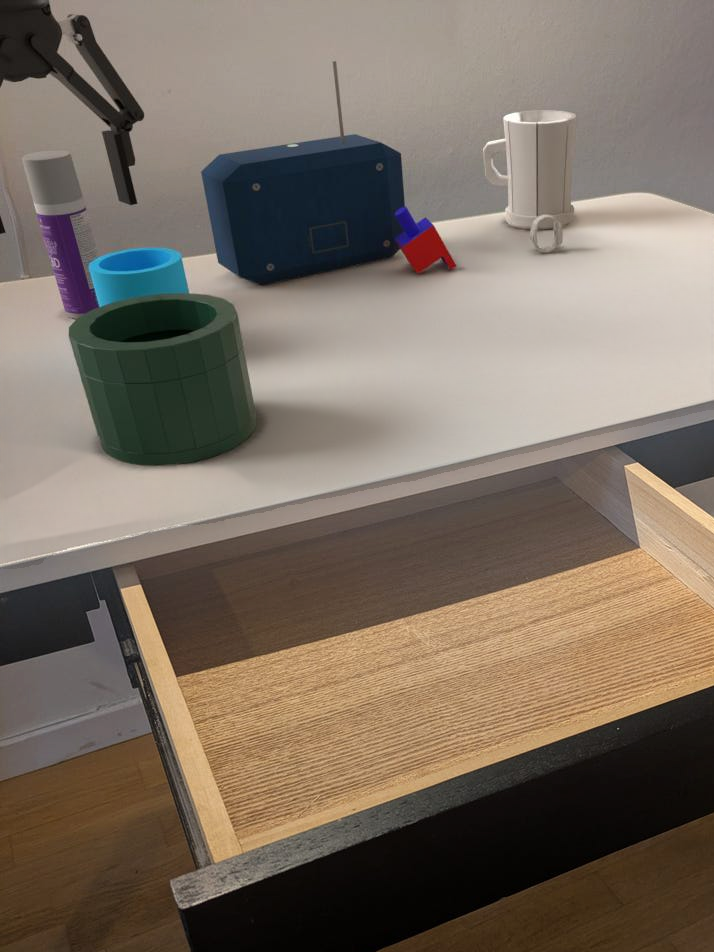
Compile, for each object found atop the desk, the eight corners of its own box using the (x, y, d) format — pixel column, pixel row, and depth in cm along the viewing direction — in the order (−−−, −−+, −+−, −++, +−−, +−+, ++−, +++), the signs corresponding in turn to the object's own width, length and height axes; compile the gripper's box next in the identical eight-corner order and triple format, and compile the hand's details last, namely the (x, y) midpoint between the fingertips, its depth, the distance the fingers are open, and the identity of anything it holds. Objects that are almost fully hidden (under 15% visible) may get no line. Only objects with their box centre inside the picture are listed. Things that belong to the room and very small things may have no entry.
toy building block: (418, 278, 113) (381, 216, 108) (448, 256, 112) (412, 194, 107) (425, 287, 110) (388, 224, 105) (456, 265, 110) (420, 201, 105)
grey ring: (532, 255, 113) (533, 218, 111) (527, 250, 115) (528, 214, 112) (562, 252, 114) (563, 216, 111) (557, 247, 116) (558, 211, 113)
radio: (377, 239, 121) (360, 52, 109) (412, 256, 115) (398, 59, 103) (216, 272, 112) (177, 72, 100) (244, 291, 106) (207, 81, 94)
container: (56, 317, 101) (9, 159, 92) (83, 302, 105) (40, 149, 96) (95, 320, 100) (51, 161, 91) (121, 305, 104) (81, 150, 95)
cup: (516, 236, 120) (515, 128, 112) (480, 220, 126) (477, 116, 119) (587, 223, 123) (591, 116, 116) (549, 208, 130) (550, 106, 123)
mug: (215, 348, 93) (197, 259, 88) (135, 371, 89) (111, 280, 84) (158, 318, 100) (139, 234, 95) (82, 338, 96) (57, 253, 91)
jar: (80, 468, 74) (43, 352, 68) (126, 401, 83) (98, 295, 78) (240, 463, 73) (217, 346, 68) (268, 397, 83) (249, 290, 78)
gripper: (-153, -32, 75) (-51, 252, 88) (144, -54, 88) (195, 197, 101) (-178, -34, 80) (-78, 236, 93) (107, -54, 93) (161, 186, 106)
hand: (64, 216), depth 97 cm, fingers open, 13 cm apart
